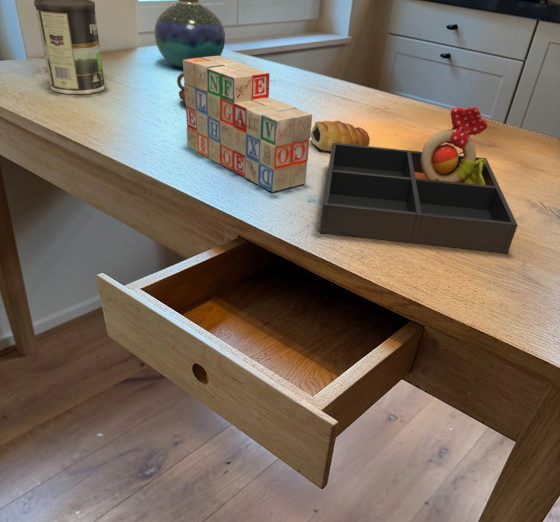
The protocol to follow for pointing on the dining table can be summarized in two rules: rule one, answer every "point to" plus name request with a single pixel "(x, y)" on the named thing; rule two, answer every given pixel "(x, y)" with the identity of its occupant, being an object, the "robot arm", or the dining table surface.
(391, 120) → the dining table surface
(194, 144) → the stack of blocks
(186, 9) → the vase
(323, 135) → the pastry
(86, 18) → the coffee can
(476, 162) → the bird rattle
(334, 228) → the grid
